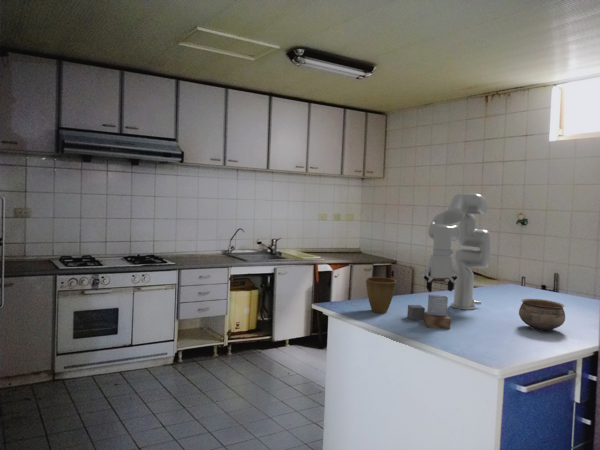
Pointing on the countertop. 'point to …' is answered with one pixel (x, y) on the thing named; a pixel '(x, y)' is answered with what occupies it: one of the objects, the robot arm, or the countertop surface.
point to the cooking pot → (542, 314)
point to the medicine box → (437, 305)
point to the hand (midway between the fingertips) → (439, 290)
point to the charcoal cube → (415, 312)
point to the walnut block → (436, 321)
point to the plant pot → (380, 293)
